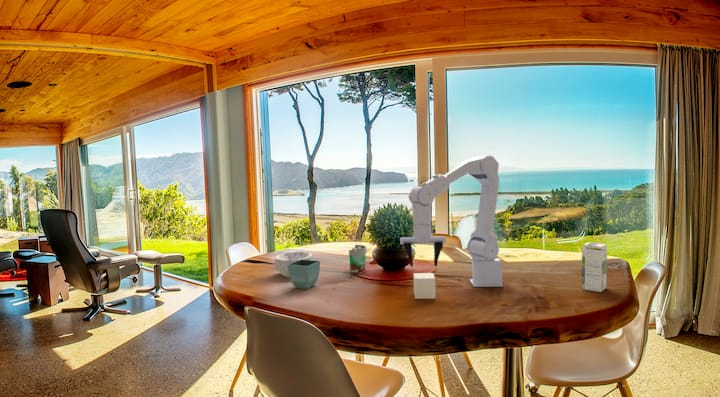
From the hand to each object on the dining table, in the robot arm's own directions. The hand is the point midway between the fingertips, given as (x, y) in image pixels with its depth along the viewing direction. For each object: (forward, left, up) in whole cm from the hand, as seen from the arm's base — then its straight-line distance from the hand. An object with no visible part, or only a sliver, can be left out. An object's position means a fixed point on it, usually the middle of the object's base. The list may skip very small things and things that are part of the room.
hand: (423, 265), depth 122 cm
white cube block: (0, +1, -9) cm, 9 cm away
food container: (+24, -31, -10) cm, 40 cm away
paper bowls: (+51, -28, -10) cm, 59 cm away
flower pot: (+42, -10, -10) cm, 44 cm away
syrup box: (-54, -4, -10) cm, 55 cm away
